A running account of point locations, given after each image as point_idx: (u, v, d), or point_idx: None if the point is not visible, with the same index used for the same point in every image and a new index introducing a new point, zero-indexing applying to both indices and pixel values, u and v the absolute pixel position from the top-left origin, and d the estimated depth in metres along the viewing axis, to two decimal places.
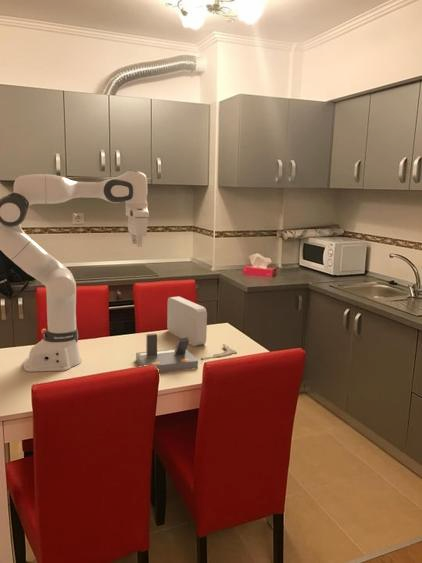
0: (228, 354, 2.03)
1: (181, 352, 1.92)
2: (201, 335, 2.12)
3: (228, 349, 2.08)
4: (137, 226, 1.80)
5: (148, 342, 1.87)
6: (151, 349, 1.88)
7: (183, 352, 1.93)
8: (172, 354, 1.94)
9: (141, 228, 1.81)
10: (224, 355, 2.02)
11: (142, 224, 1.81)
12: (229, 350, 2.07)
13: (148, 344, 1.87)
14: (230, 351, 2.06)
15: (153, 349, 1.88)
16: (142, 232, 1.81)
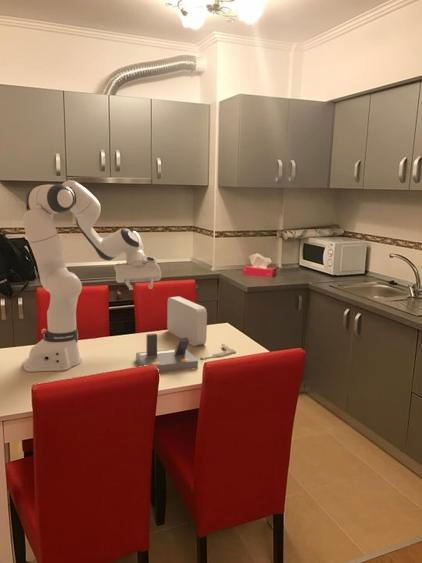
0: (227, 354, 2.04)
1: (181, 352, 1.92)
2: (201, 335, 2.12)
3: (227, 349, 2.09)
4: None
5: (148, 342, 1.87)
6: (151, 349, 1.88)
7: (183, 352, 1.93)
8: (172, 354, 1.94)
9: None
10: (224, 355, 2.02)
11: None
12: (228, 350, 2.08)
13: (148, 344, 1.87)
14: (229, 351, 2.07)
15: (153, 349, 1.88)
16: None
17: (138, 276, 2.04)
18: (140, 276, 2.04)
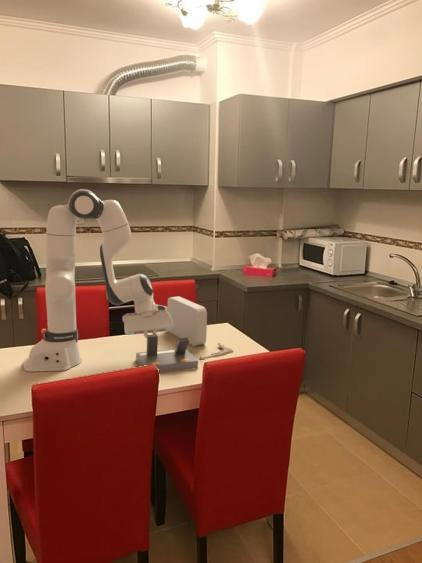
0: (225, 353, 2.05)
1: (181, 352, 1.92)
2: (201, 335, 2.12)
3: (224, 348, 2.10)
4: (171, 319, 1.95)
5: (148, 343, 1.86)
6: (151, 350, 1.88)
7: (183, 352, 1.93)
8: (172, 354, 1.94)
9: None
10: (222, 354, 2.03)
11: None
12: (225, 349, 2.09)
13: (148, 345, 1.86)
14: (226, 350, 2.08)
15: (154, 350, 1.88)
16: None
17: (148, 328, 1.90)
18: (151, 328, 1.90)
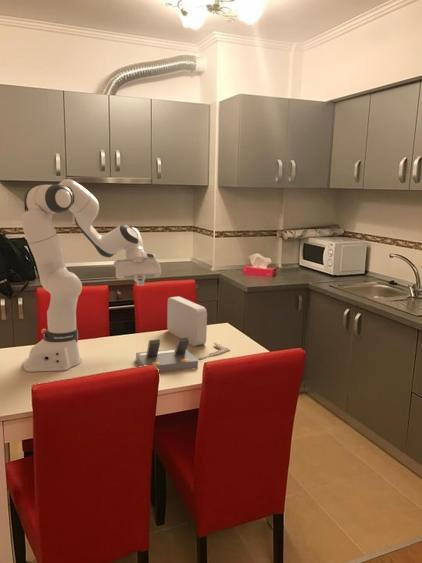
0: (223, 352, 2.06)
1: (181, 352, 1.92)
2: (201, 335, 2.12)
3: (221, 347, 2.10)
4: (159, 265, 2.09)
5: (149, 348, 1.84)
6: (152, 353, 1.87)
7: (183, 352, 1.93)
8: (172, 354, 1.94)
9: None
10: (219, 353, 2.04)
11: None
12: (222, 348, 2.10)
13: (150, 349, 1.85)
14: (224, 349, 2.09)
15: (154, 353, 1.87)
16: None
17: (138, 272, 2.04)
18: (140, 272, 2.04)
